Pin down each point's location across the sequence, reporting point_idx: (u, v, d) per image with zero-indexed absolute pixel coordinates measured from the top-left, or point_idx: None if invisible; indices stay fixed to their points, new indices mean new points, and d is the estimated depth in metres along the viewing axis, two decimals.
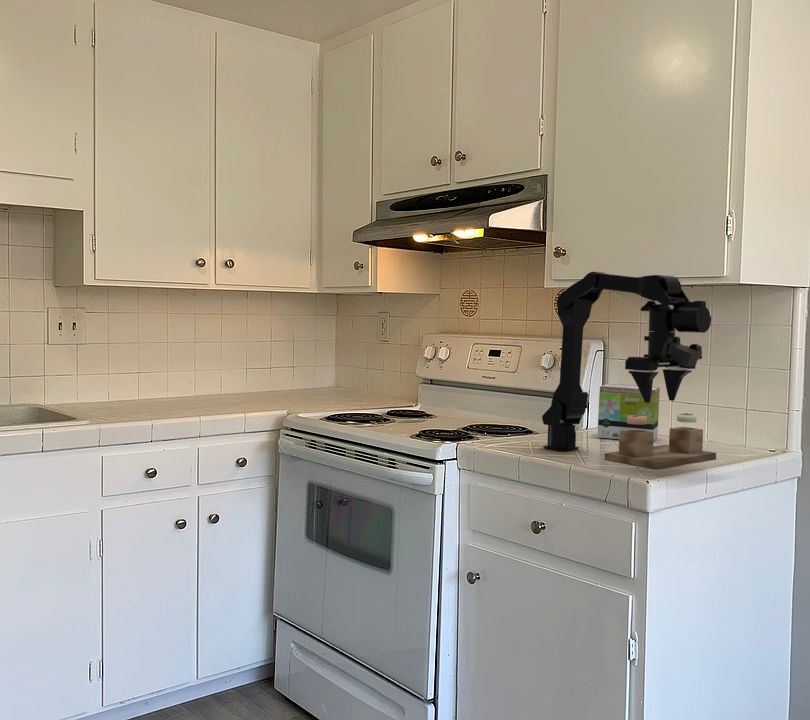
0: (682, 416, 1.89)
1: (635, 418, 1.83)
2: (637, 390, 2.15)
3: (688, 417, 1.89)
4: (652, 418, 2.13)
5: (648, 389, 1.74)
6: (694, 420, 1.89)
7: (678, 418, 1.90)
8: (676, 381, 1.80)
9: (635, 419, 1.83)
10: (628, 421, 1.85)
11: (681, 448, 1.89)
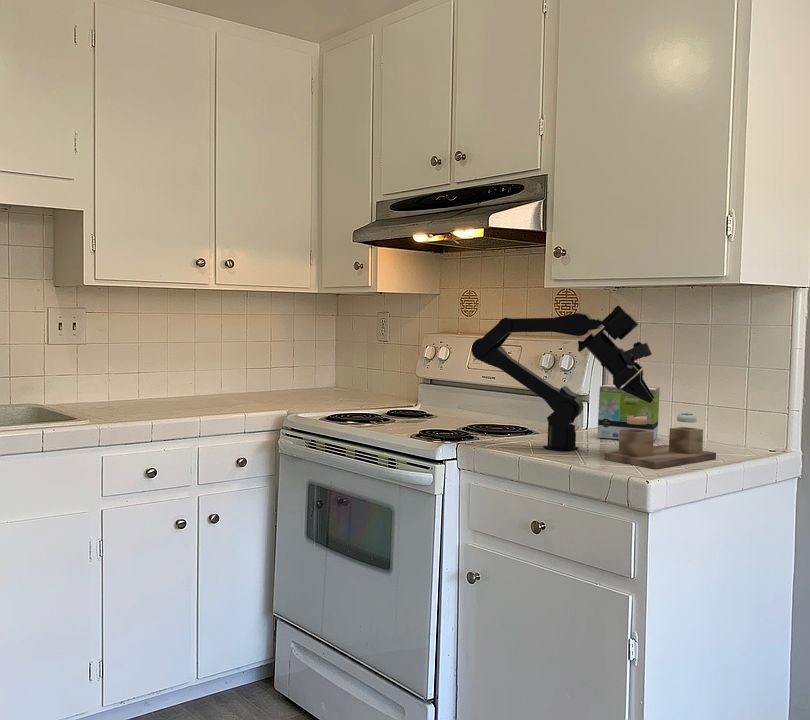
0: (682, 416, 1.89)
1: (635, 418, 1.83)
2: None
3: (688, 417, 1.89)
4: (652, 418, 2.13)
5: (644, 390, 1.89)
6: (694, 420, 1.89)
7: (678, 418, 1.90)
8: (643, 383, 1.97)
9: (635, 419, 1.83)
10: (628, 421, 1.85)
11: (681, 448, 1.89)
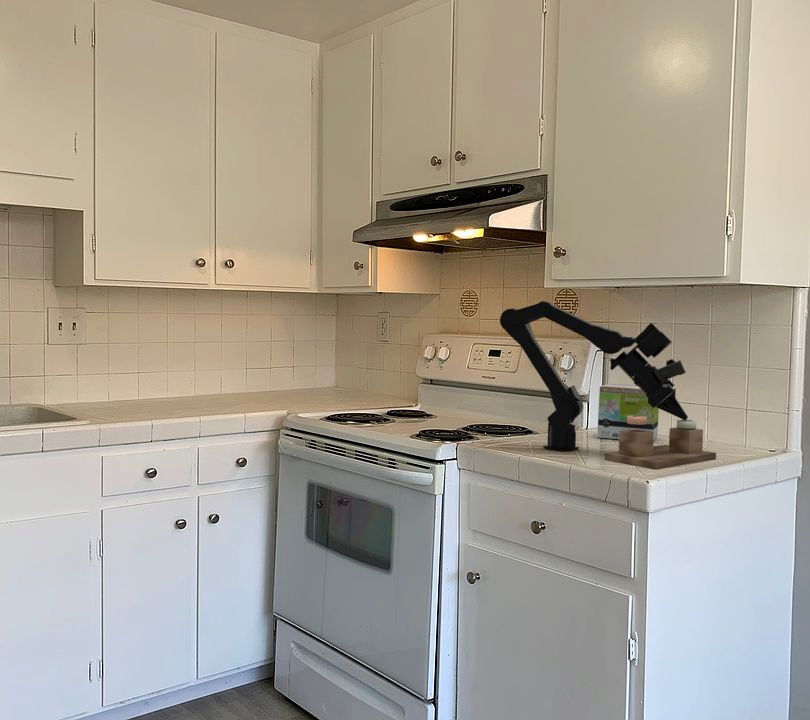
0: (682, 422, 1.89)
1: (635, 418, 1.83)
2: (637, 390, 2.15)
3: (688, 423, 1.89)
4: (652, 418, 2.13)
5: (679, 408, 1.90)
6: (694, 426, 1.89)
7: (678, 424, 1.90)
8: None
9: (635, 419, 1.83)
10: (628, 421, 1.85)
11: (681, 448, 1.89)
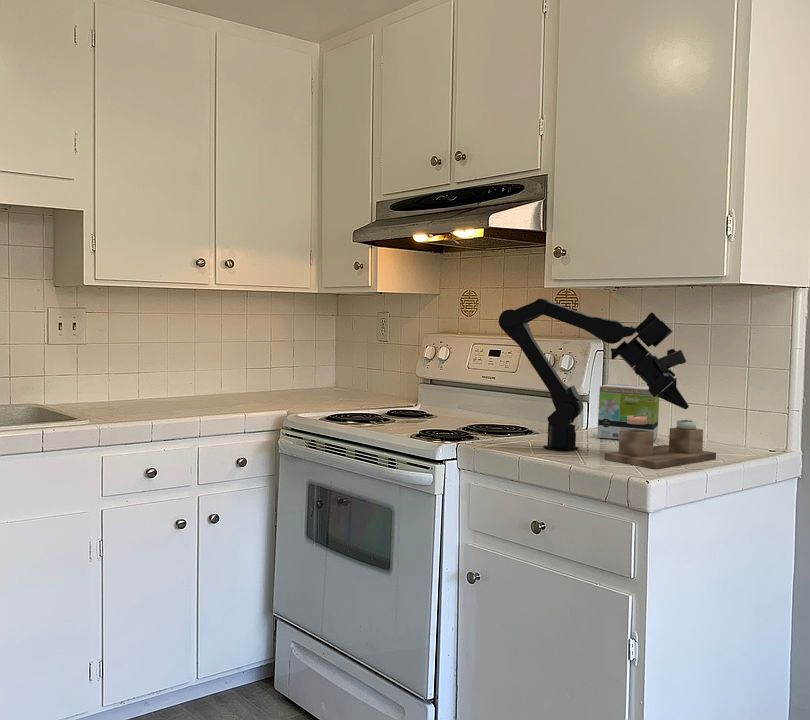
0: (682, 423, 1.89)
1: (635, 418, 1.83)
2: (637, 390, 2.15)
3: (688, 424, 1.89)
4: (652, 418, 2.13)
5: (680, 397, 1.90)
6: (694, 427, 1.89)
7: (678, 425, 1.90)
8: None
9: (635, 419, 1.83)
10: (628, 421, 1.85)
11: (681, 448, 1.89)
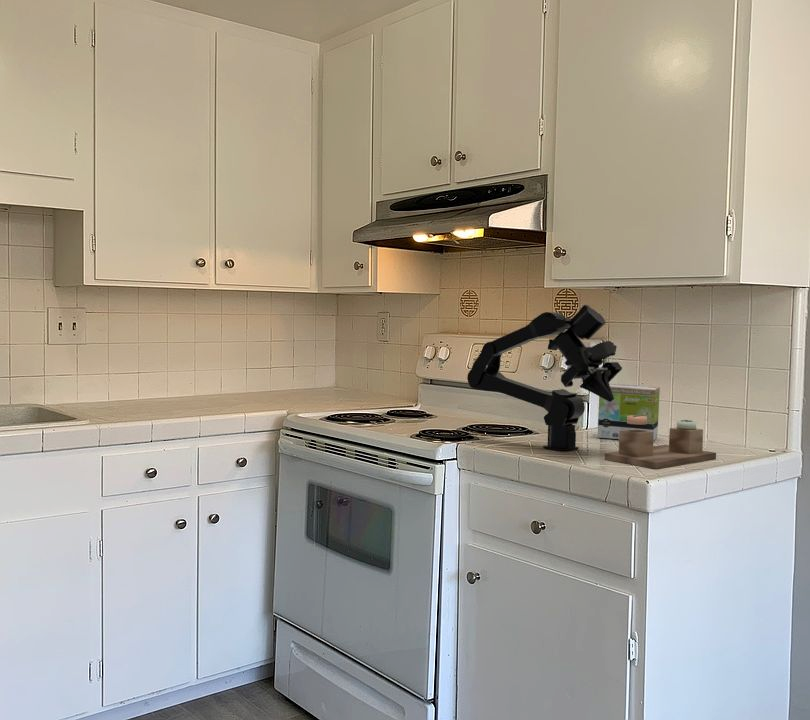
0: (682, 423, 1.89)
1: (635, 418, 1.83)
2: (637, 390, 2.15)
3: (688, 424, 1.89)
4: (652, 418, 2.13)
5: (603, 389, 1.90)
6: (694, 427, 1.89)
7: (678, 425, 1.90)
8: (604, 383, 1.92)
9: (635, 419, 1.83)
10: (628, 421, 1.85)
11: (681, 448, 1.89)
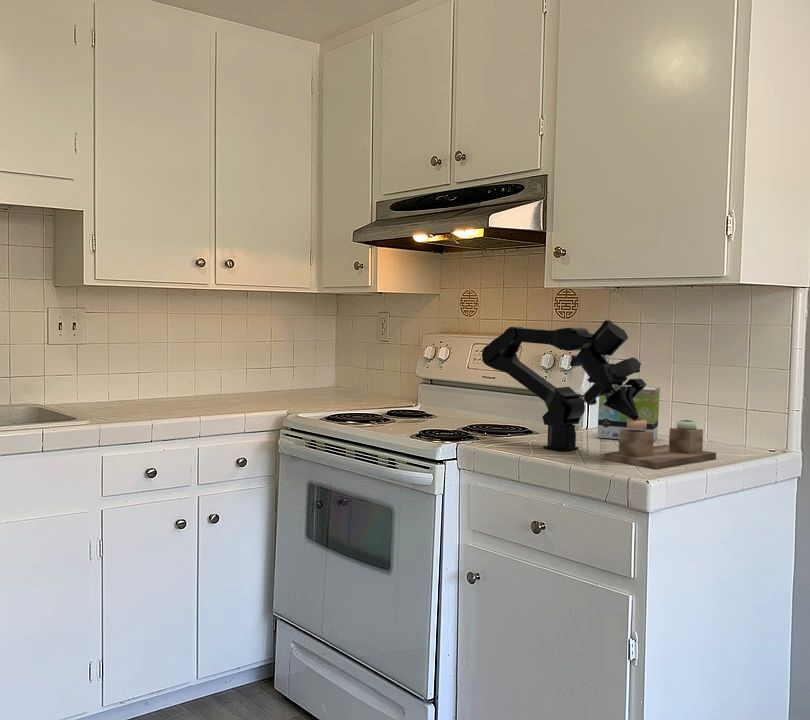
0: (682, 423, 1.89)
1: (635, 422, 1.83)
2: None
3: (688, 424, 1.89)
4: (652, 418, 2.13)
5: (628, 407, 1.86)
6: (694, 427, 1.89)
7: (678, 425, 1.90)
8: (629, 401, 1.87)
9: (634, 424, 1.83)
10: (628, 425, 1.85)
11: (681, 448, 1.89)
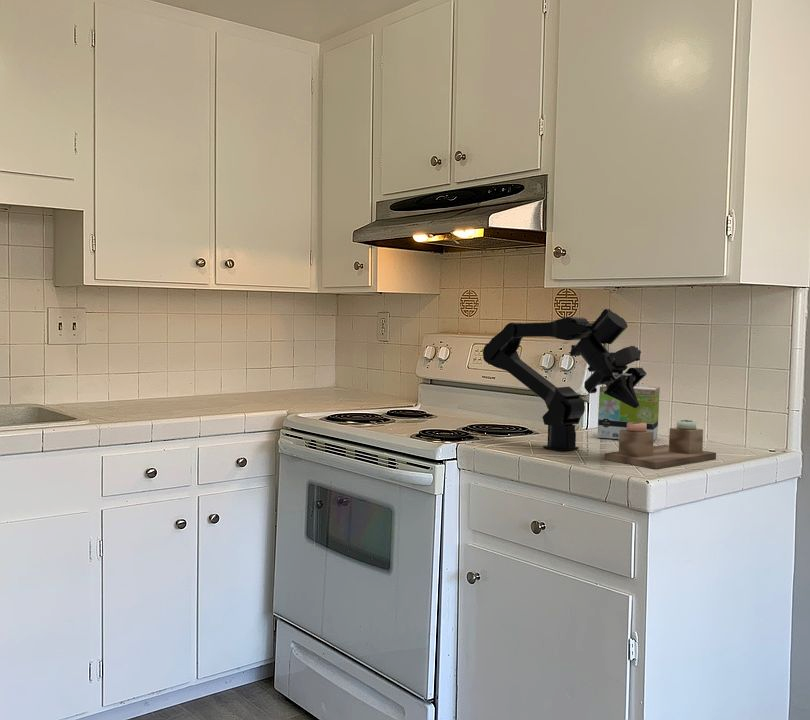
0: (682, 423, 1.89)
1: (635, 425, 1.83)
2: (637, 390, 2.15)
3: (688, 424, 1.89)
4: (652, 418, 2.13)
5: (628, 395, 1.85)
6: (694, 427, 1.89)
7: (678, 425, 1.90)
8: (629, 389, 1.87)
9: (634, 426, 1.83)
10: (628, 428, 1.85)
11: (681, 448, 1.89)
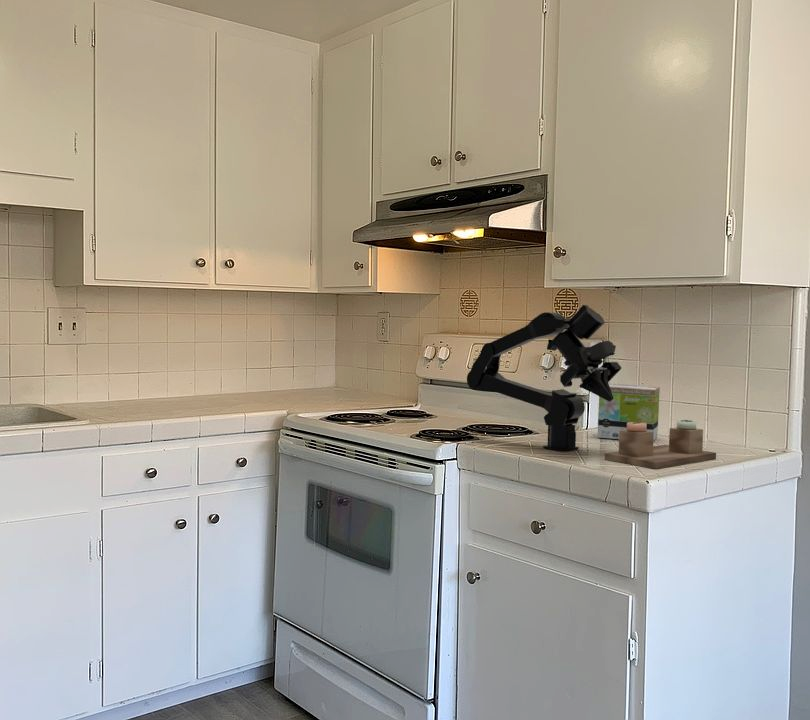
0: (682, 423, 1.89)
1: (635, 425, 1.83)
2: (637, 390, 2.15)
3: (688, 424, 1.89)
4: (652, 418, 2.13)
5: (603, 388, 1.91)
6: (694, 427, 1.89)
7: (678, 425, 1.90)
8: (603, 383, 1.92)
9: (634, 426, 1.83)
10: (628, 428, 1.85)
11: (681, 448, 1.89)
